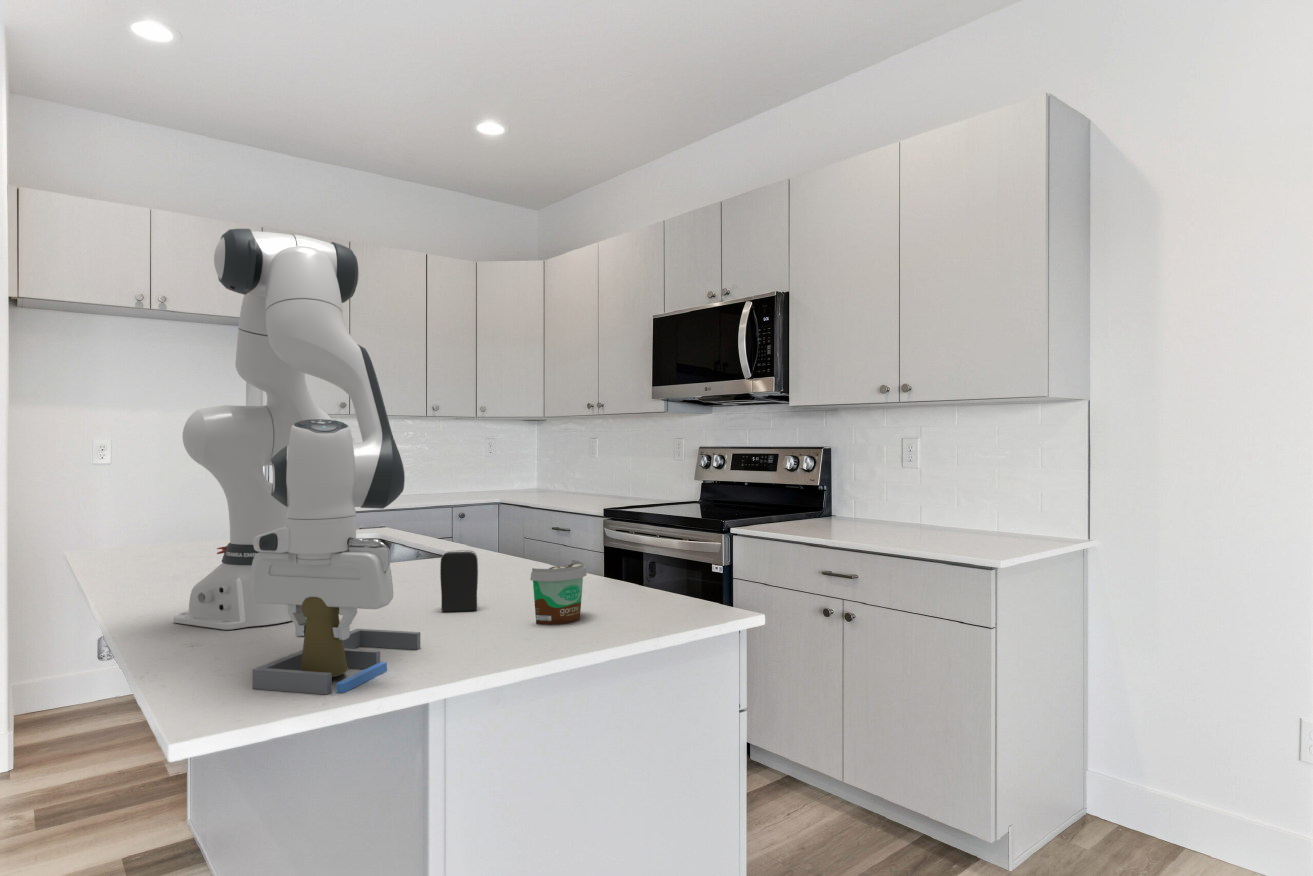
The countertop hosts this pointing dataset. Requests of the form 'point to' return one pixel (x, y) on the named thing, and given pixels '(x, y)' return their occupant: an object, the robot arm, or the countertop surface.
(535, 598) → the food container
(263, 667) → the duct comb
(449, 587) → the battery charger
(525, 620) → the countertop surface
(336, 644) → the cork
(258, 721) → the countertop surface
